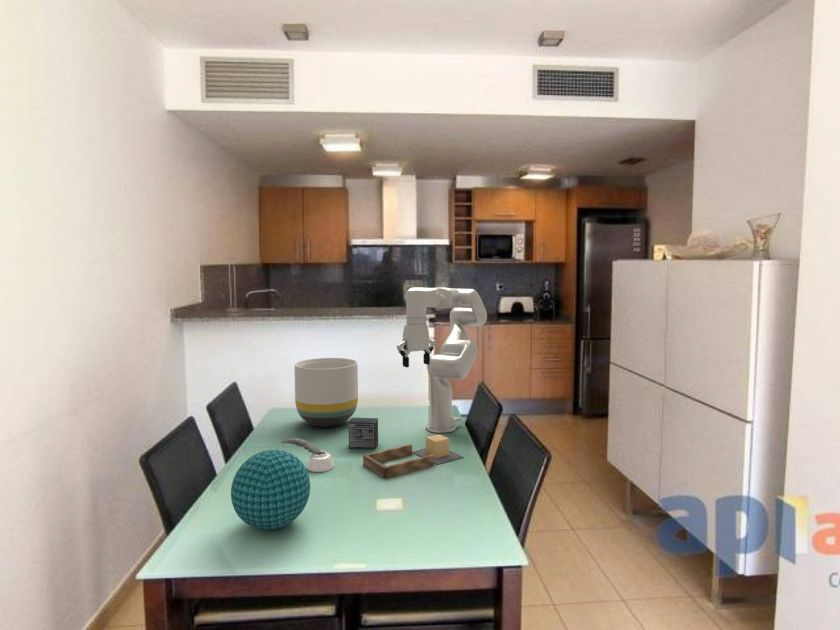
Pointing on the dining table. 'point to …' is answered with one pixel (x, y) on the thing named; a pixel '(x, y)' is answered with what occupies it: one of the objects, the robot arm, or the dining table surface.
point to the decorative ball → (270, 489)
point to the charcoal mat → (440, 459)
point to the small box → (363, 433)
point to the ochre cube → (437, 445)
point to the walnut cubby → (389, 471)
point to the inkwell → (314, 456)
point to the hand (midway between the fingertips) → (416, 365)
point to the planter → (326, 390)
